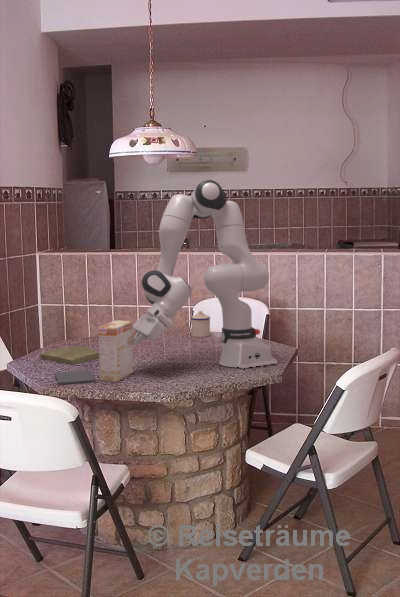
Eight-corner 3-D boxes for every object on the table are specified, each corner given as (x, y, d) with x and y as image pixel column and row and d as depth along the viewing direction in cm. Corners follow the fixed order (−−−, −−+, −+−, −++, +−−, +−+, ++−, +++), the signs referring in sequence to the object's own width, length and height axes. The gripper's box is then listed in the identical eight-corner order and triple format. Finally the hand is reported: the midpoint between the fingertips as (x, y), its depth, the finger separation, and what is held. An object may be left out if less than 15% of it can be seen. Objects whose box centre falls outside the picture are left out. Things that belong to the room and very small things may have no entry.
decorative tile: (72, 366, 289) (71, 357, 288) (39, 360, 302) (39, 351, 301) (107, 358, 303) (106, 349, 303) (74, 352, 316) (74, 344, 315)
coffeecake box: (116, 371, 277) (114, 320, 275) (134, 372, 275) (132, 320, 272) (99, 380, 263) (97, 326, 260) (117, 382, 261) (115, 327, 258)
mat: (90, 372, 276) (90, 370, 276) (95, 382, 261) (95, 379, 261) (54, 374, 273) (54, 372, 273) (58, 385, 258) (58, 382, 258)
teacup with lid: (212, 334, 350) (212, 310, 349) (207, 338, 342) (206, 313, 340) (188, 333, 354) (188, 309, 352) (182, 336, 345) (182, 312, 344)
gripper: (144, 306, 281) (119, 333, 279) (161, 313, 262) (135, 343, 260) (155, 317, 283) (131, 344, 281) (173, 325, 264) (148, 354, 262)
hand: (133, 343), depth 270 cm, fingers closed
